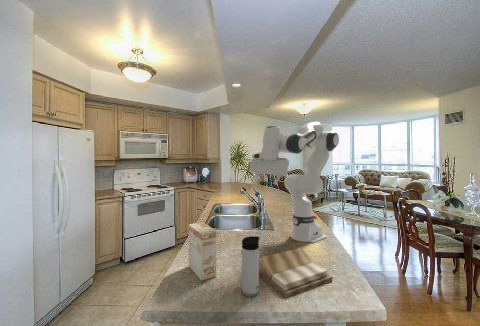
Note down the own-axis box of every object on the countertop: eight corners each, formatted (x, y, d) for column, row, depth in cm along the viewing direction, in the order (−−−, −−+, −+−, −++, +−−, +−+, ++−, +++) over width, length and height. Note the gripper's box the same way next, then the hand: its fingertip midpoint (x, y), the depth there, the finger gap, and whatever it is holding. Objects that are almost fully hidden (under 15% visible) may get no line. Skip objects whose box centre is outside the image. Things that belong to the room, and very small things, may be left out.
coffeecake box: (217, 276, 94) (216, 230, 93) (200, 281, 90) (200, 233, 90) (202, 262, 107) (202, 221, 106) (188, 266, 103) (188, 223, 102)
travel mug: (262, 295, 81) (262, 240, 81) (244, 298, 79) (244, 241, 79) (256, 285, 87) (256, 234, 87) (239, 288, 85) (239, 236, 85)
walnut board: (297, 260, 109) (297, 257, 109) (332, 280, 91) (332, 276, 91) (255, 272, 97) (255, 269, 97) (285, 297, 80) (285, 293, 80)
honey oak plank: (299, 250, 106) (300, 247, 105) (310, 264, 100) (312, 262, 99) (260, 260, 96) (261, 257, 95) (269, 277, 90) (271, 274, 89)
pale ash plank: (312, 267, 99) (312, 262, 99) (327, 275, 92) (327, 270, 92) (271, 279, 89) (271, 274, 89) (284, 290, 82) (284, 284, 82)
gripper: (290, 158, 115) (287, 185, 115) (254, 155, 124) (251, 180, 124) (287, 157, 109) (284, 186, 109) (249, 154, 119) (246, 180, 119)
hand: (266, 183), depth 117 cm, fingers open, 8 cm apart
